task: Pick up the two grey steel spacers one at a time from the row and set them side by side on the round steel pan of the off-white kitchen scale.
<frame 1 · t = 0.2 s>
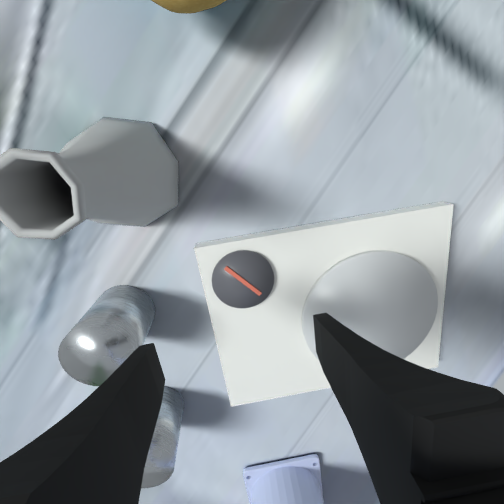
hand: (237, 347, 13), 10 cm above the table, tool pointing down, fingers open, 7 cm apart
flask: (128, 174, 19), on the table
spacer 1: (159, 404, 26), on the table
scale: (326, 307, 24), on the table
spacer 2: (126, 310, 22), on the table
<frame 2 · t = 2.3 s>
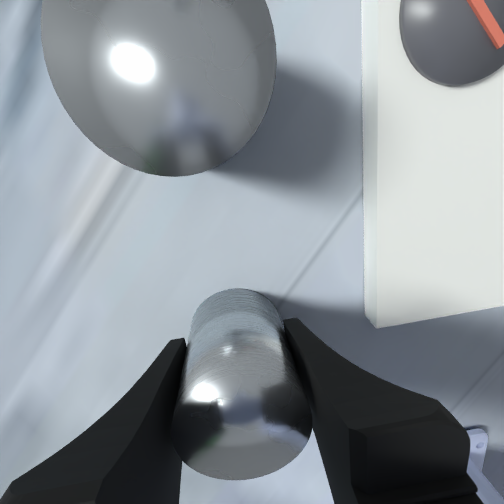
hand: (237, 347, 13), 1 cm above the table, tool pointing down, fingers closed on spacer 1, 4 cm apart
spacer 1: (236, 328, 14), on the table, touching gripper
spacer 2: (193, 105, 11), on the table
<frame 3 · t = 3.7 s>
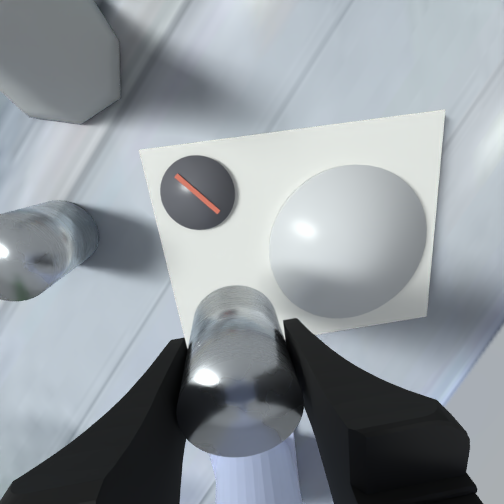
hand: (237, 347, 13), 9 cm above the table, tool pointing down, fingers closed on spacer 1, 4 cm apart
flask: (59, 57, 16), on the table
spacer 1: (235, 323, 15), point 7 cm above the table, touching gripper
scale: (299, 240, 21), on the table
spacer 2: (64, 232, 19), on the table
when the fingers open (4 cm above the table, at t = 5.5 s): spacer 1 stays where it is, resting on scale.
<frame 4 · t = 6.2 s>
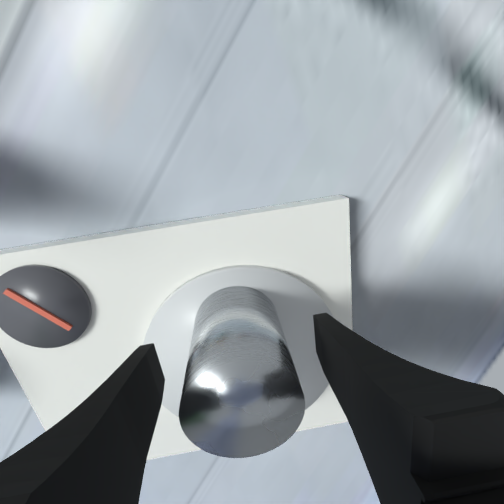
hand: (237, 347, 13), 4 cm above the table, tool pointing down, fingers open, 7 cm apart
spacer 1: (236, 323, 15), point 2 cm above the table, touching scale
scale: (192, 342, 17), on the table
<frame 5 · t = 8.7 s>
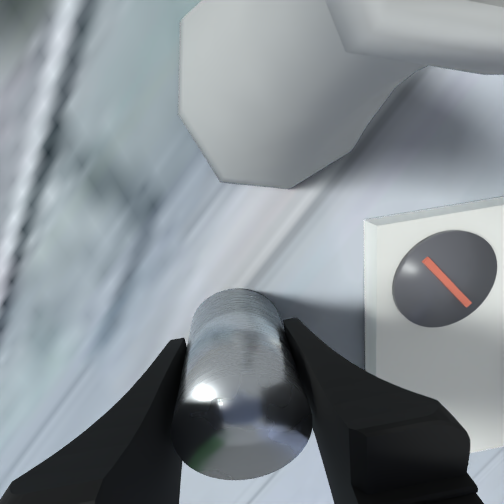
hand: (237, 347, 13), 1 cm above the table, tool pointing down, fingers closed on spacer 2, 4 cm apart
flask: (271, 95, 11), on the table
spacer 2: (236, 328, 14), on the table, touching gripper
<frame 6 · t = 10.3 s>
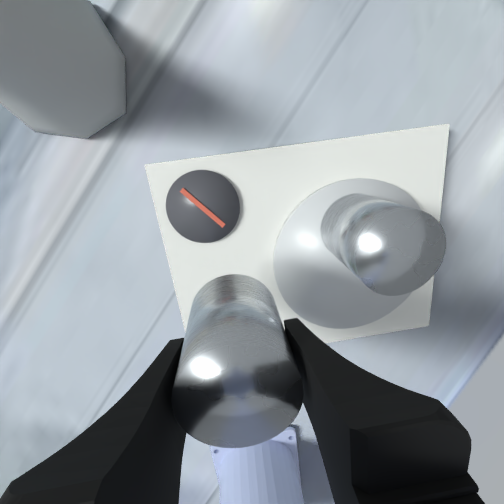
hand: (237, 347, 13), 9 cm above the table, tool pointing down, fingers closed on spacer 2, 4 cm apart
flask: (65, 72, 16), on the table
spacer 1: (352, 226, 19), point 2 cm above the table, touching scale
scale: (303, 251, 21), on the table
spacer 2: (234, 313, 15), point 7 cm above the table, touching gripper
when the fingers open (4 cm above the table, at t = 12.1 s): spacer 2 stays where it is, resting on scale.
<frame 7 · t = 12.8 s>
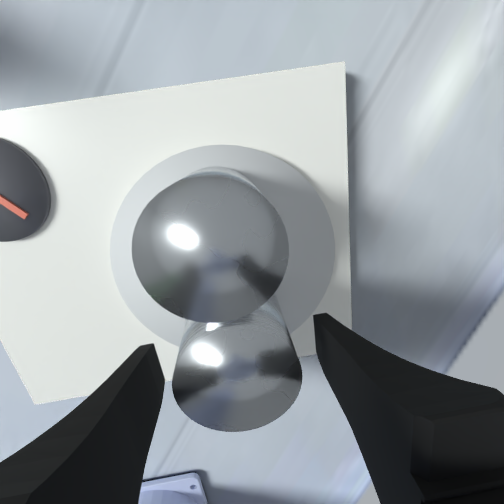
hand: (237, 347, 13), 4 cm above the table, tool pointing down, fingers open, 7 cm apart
spacer 1: (217, 215, 13), point 2 cm above the table, touching scale
scale: (170, 251, 15), on the table
spacer 2: (233, 303, 15), point 2 cm above the table, touching scale
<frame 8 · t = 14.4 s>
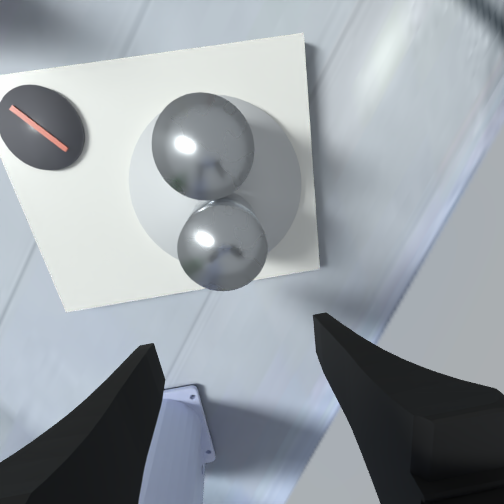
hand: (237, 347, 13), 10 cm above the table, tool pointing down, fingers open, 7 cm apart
spacer 1: (210, 150, 17), point 2 cm above the table, touching scale
scale: (174, 186, 20), on the table
spacer 2: (223, 224, 19), point 2 cm above the table, touching scale
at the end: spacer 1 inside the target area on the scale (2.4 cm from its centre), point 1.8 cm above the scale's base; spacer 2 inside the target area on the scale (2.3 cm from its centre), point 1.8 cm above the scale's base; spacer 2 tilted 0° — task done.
